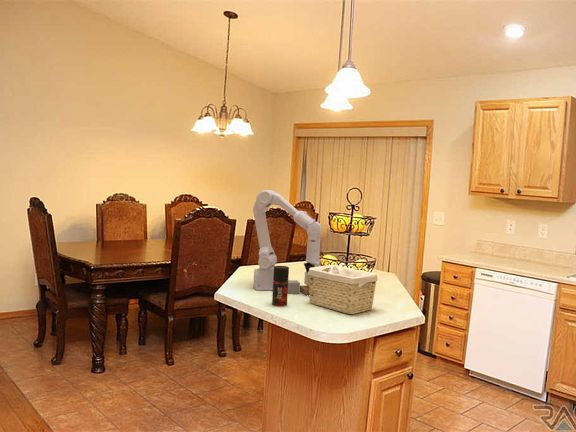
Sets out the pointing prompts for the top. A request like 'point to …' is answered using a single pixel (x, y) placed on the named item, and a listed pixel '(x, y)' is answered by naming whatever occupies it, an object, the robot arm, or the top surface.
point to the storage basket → (342, 288)
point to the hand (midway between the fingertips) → (311, 280)
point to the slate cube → (293, 287)
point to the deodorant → (280, 286)
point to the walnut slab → (305, 290)
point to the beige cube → (306, 279)
